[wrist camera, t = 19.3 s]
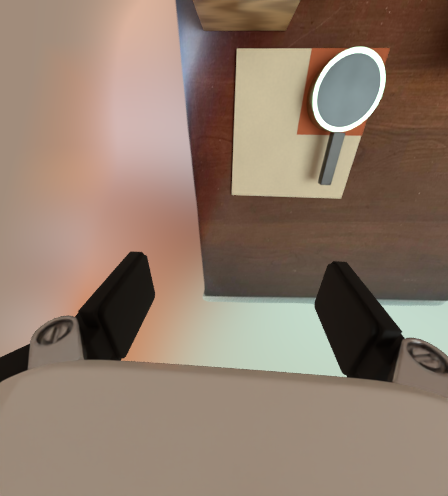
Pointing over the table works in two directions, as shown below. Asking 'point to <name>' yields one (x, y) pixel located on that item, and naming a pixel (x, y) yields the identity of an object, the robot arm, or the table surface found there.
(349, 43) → the table surface
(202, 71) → the table surface
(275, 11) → the block
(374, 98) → the pan
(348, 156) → the mat
